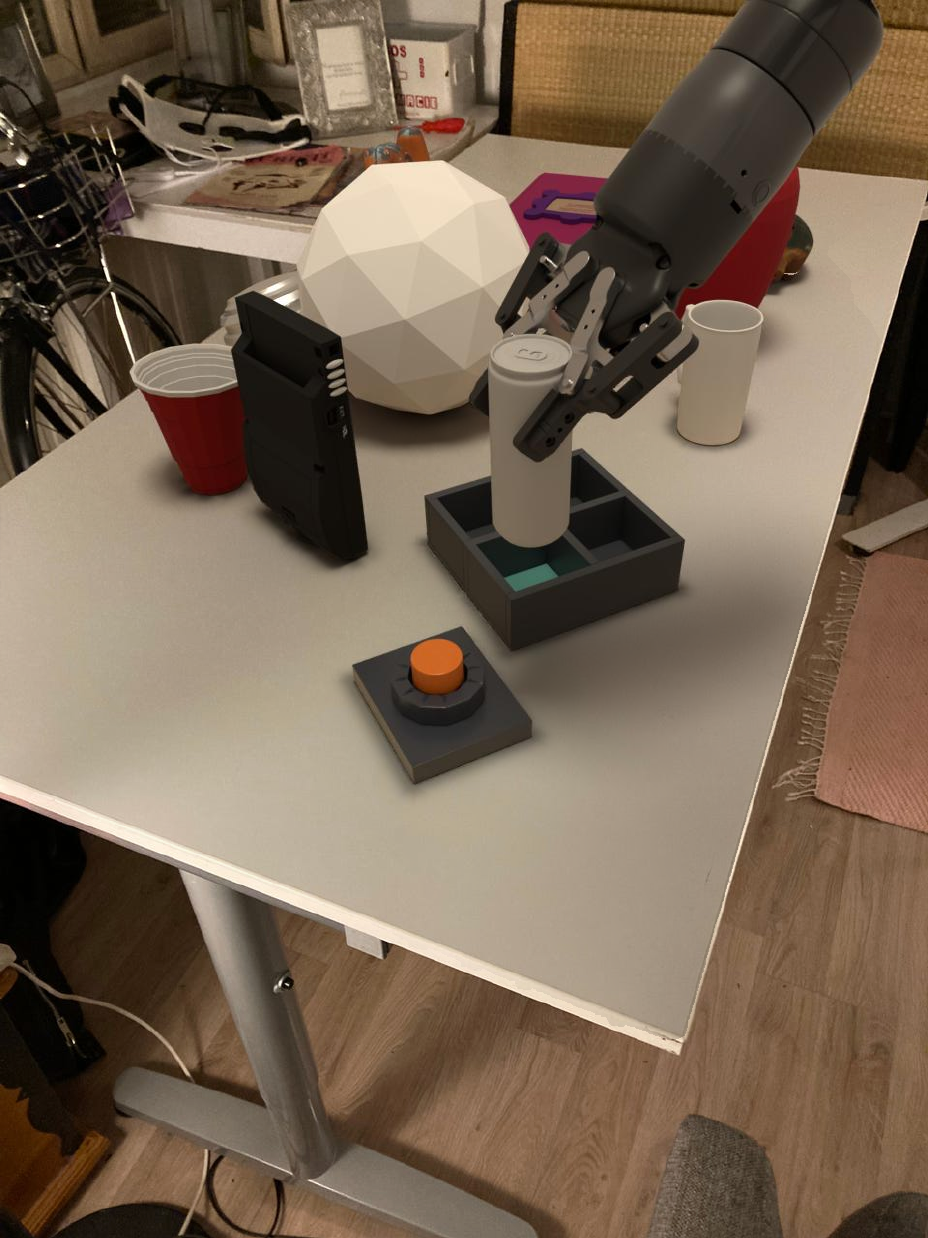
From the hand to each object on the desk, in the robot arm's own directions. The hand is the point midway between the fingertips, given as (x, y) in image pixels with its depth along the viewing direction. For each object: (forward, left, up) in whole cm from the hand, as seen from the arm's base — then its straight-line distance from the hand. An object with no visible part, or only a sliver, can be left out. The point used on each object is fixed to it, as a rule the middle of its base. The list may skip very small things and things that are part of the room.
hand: (503, 430), depth 56 cm
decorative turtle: (+51, -66, -23) cm, 86 cm away
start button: (+1, +4, -19) cm, 20 cm away
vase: (+39, -47, -23) cm, 65 cm away
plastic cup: (+39, +10, -23) cm, 46 cm away
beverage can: (0, -2, -8) cm, 8 cm away
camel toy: (+79, -27, -23) cm, 86 cm away
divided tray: (+12, -11, -22) cm, 27 cm away
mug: (+25, -36, -22) cm, 49 cm away
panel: (+1, +4, -22) cm, 23 cm away
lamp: (+47, -10, -23) cm, 53 cm away
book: (+66, -46, -22) cm, 83 cm away
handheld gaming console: (+26, +5, -22) cm, 35 cm away
